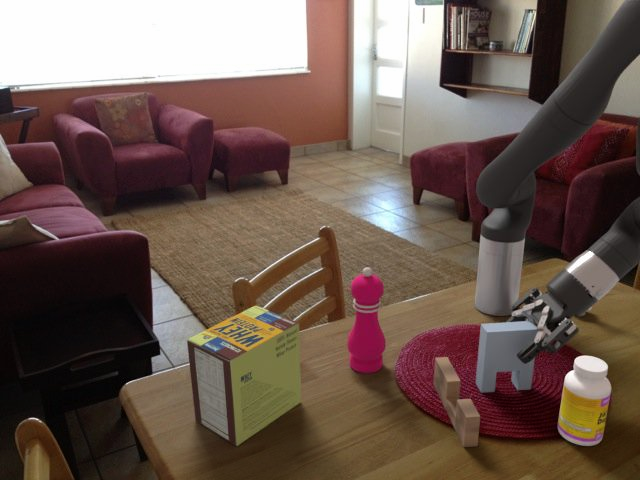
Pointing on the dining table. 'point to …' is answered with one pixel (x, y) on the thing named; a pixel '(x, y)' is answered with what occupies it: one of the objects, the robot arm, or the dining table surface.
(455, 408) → the wooden notched block
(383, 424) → the dining table surface
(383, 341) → the pepper mill
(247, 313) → the protein box
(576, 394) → the supplement bottle
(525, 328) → the pale blue notched block
